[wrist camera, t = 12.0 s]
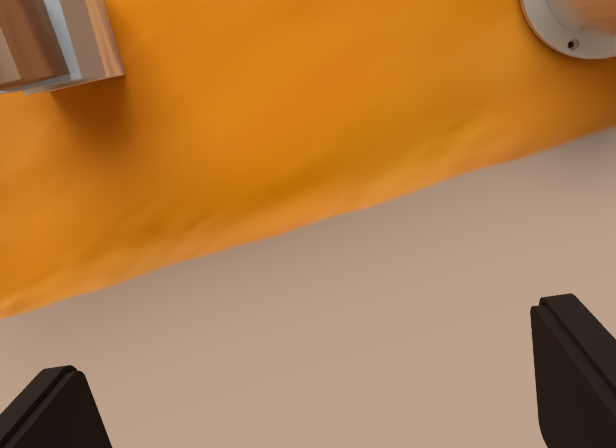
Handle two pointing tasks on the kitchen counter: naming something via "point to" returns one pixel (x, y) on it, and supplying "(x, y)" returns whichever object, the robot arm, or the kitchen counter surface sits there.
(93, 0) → the tower base
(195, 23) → the kitchen counter surface
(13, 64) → the walnut block
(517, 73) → the kitchen counter surface
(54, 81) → the tower top
